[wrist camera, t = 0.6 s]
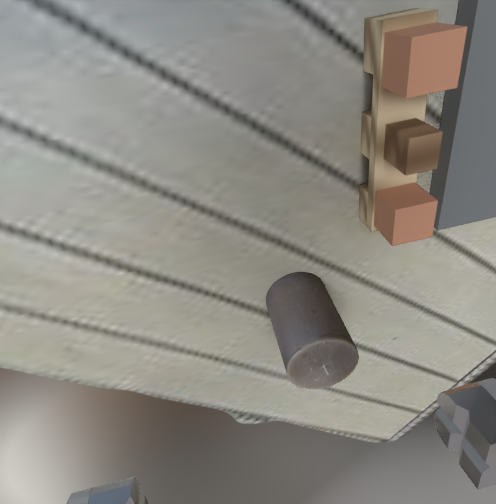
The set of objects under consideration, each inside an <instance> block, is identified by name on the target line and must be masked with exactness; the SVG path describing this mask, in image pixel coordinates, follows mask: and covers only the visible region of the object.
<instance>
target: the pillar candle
mask: <svg viewBox="0 0 496 504" xmlns="http://www.w3.org/2000/svg"><path fill="white" fill-rule="evenodd" d="M266 303H267V308H268V312H269V315H270V318H271V322H272V325H273V329H274V332H275V335H276V338H277V342H278V345H279V349H280V352H281V355H282V358H283V362H284V365H285V369H286V373H287V376H288V379H289V380H290V381H291V382H292V383H293V384H295V385H296V387H298V388H306V389H319V388H325V387H329V386H332V385H334V384H336V383H338V382H340V381H342V380H343V379H345V378H346V377H347V376H348V375H350V374H351V372H353V370H354V369H355V367H356V365H357V363H358V359H359V355H358V351H357V348H356V346H355V344H354V343H353V341H352V339H351V337H350V335H349V333H348V331H347V329H346V327H345V325H344V323H343V321H342V319H341V317H340V315H339V313H338V312H337V310H336V307H335V306H334V304H333V302H332V300H331V297H330V296H329V294H328V292H327V290H326V288H325V285H324V284H323V282H322V281H321V279H320V278H318V277H317V276H315V275H313V274H310V273H305V272H298V273H293V274H289V275H287V276H284V277H282V278H281V279H279V280H278V281H276V282H275V283H274V284H273V285H272V287H271V288H270V289H269V291H268V293H267V297H266Z"/></svg>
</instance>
